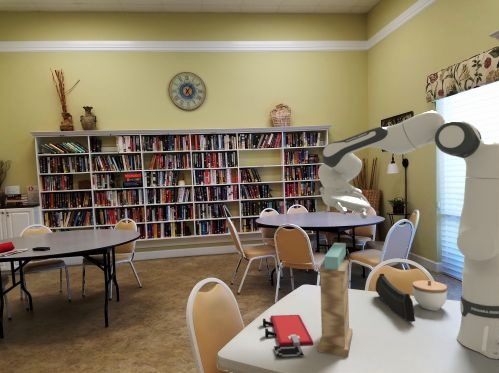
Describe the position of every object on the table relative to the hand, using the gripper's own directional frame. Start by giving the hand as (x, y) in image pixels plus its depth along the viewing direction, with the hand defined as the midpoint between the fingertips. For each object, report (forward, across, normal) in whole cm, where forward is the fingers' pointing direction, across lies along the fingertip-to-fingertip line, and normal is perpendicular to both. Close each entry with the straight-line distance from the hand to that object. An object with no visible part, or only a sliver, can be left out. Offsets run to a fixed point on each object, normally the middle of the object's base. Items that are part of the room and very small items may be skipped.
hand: (354, 215), depth 121 cm
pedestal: (+32, -5, +30) cm, 44 cm away
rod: (+14, -8, +11) cm, 19 cm away
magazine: (+16, +32, +30) cm, 47 cm away
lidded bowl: (+19, +46, +24) cm, 55 cm away
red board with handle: (+25, -16, +40) cm, 49 cm away
